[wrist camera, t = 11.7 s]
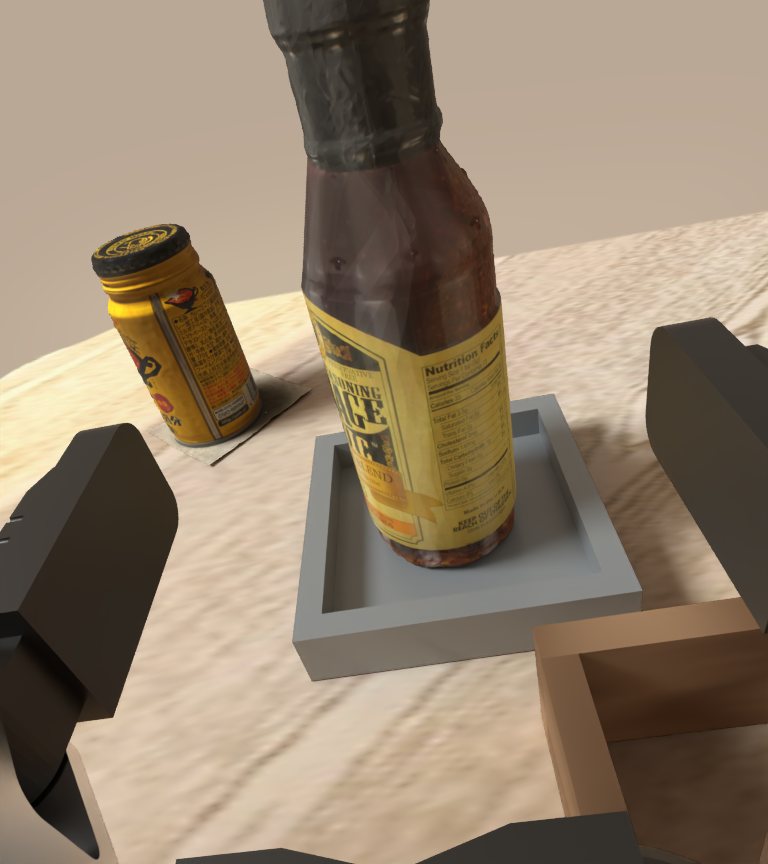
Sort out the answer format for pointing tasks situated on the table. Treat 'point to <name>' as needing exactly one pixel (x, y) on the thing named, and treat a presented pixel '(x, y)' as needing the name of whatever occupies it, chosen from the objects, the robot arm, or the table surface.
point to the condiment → (186, 343)
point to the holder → (643, 687)
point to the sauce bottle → (400, 280)
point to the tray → (463, 585)
